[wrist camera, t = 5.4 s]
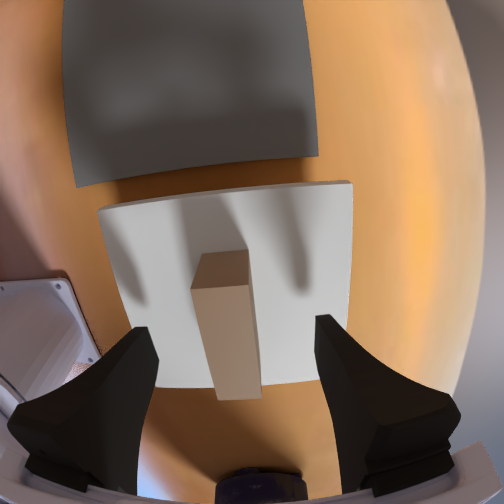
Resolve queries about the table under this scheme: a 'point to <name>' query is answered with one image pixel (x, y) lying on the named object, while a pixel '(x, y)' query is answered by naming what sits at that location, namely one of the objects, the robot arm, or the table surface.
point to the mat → (184, 85)
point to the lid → (234, 280)
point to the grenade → (260, 488)
